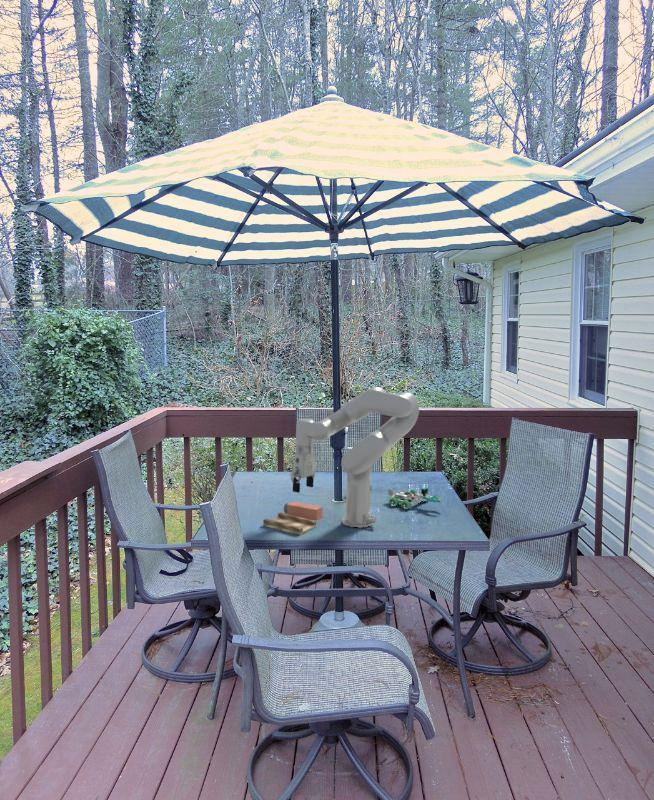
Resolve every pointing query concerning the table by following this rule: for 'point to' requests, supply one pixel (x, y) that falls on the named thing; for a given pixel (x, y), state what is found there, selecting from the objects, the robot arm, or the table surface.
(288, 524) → the cradle
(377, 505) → the table surface
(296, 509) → the salmon rectangular block
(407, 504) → the robot kit
